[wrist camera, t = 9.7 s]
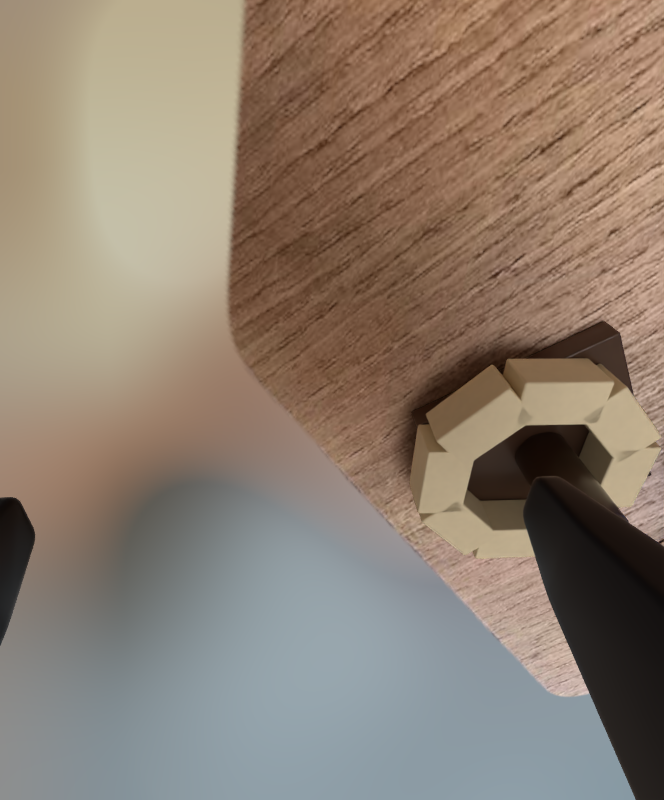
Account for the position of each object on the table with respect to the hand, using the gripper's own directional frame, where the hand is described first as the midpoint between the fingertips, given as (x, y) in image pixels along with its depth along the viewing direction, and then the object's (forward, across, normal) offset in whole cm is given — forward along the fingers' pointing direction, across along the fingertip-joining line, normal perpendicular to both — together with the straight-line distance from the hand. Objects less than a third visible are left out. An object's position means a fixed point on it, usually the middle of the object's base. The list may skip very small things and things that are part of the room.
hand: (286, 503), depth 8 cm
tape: (+10, -10, +8) cm, 17 cm away
